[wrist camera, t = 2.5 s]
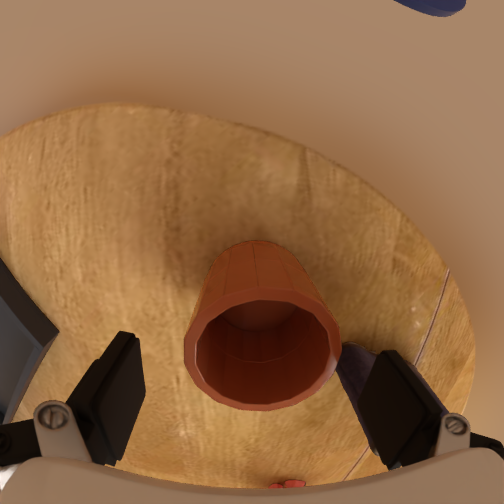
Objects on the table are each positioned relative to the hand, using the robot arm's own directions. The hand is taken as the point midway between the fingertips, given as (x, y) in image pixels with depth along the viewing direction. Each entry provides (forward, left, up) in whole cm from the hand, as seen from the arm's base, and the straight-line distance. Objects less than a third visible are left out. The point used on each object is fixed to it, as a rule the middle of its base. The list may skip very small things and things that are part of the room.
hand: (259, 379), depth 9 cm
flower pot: (0, 0, -8) cm, 8 cm away
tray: (+13, -30, -8) cm, 33 cm away
